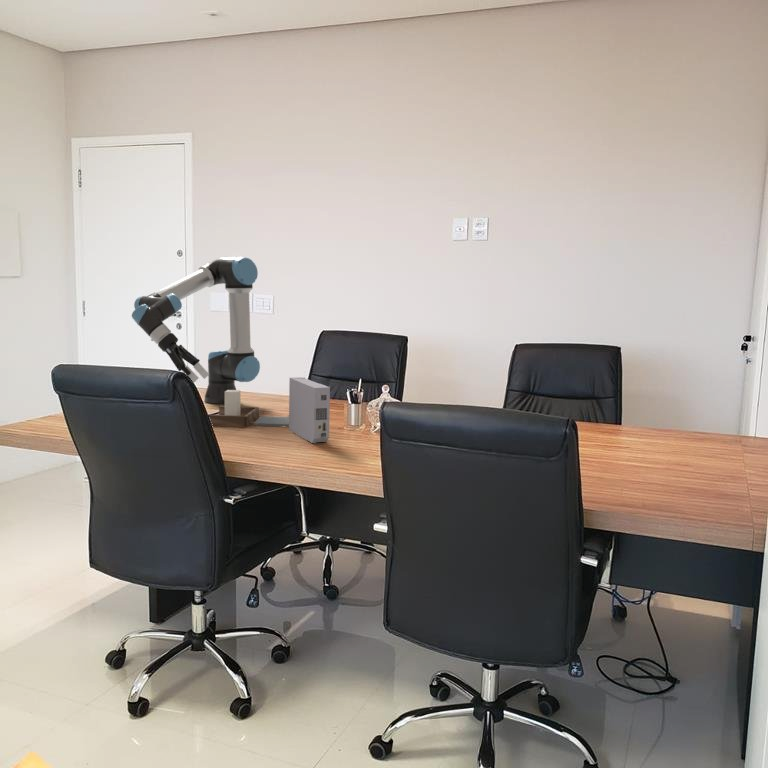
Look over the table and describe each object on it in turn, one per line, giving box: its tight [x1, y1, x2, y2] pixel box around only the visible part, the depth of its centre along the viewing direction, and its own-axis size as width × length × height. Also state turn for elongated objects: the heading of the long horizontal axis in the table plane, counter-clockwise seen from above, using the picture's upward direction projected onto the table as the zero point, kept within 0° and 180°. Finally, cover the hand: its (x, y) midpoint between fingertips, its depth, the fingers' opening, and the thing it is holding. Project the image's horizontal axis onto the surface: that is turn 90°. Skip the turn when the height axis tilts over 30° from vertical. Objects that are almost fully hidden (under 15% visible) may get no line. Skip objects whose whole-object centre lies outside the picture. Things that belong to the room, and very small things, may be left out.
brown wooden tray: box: [208, 405, 260, 428], centre depth 304 cm, size 21×16×4 cm
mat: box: [252, 415, 289, 428], centre depth 303 cm, size 15×14×1 cm
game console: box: [288, 376, 331, 444], centre depth 277 cm, size 6×27×20 cm, turn 25°
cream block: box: [224, 389, 241, 416], centre depth 304 cm, size 5×5×12 cm
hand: (201, 378), depth 303 cm, fingers open, 13 cm apart
